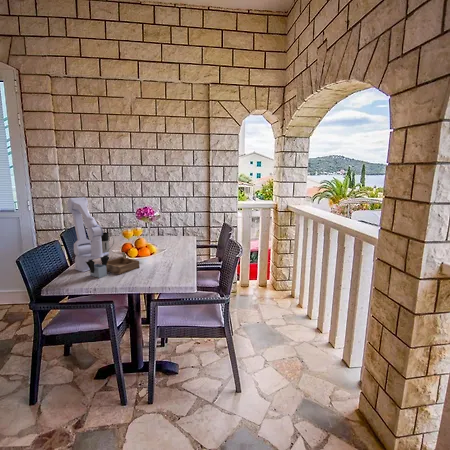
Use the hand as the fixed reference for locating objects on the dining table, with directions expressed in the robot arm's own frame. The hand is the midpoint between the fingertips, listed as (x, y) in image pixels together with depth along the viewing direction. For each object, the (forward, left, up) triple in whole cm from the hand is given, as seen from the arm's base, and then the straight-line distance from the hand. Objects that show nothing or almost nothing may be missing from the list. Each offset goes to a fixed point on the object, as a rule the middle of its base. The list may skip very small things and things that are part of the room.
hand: (98, 270), depth 168 cm
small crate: (0, 0, -3) cm, 3 cm away
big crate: (+1, +15, -3) cm, 15 cm away
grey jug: (-36, +33, -3) cm, 49 cm away
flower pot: (-11, +31, -3) cm, 33 cm away
